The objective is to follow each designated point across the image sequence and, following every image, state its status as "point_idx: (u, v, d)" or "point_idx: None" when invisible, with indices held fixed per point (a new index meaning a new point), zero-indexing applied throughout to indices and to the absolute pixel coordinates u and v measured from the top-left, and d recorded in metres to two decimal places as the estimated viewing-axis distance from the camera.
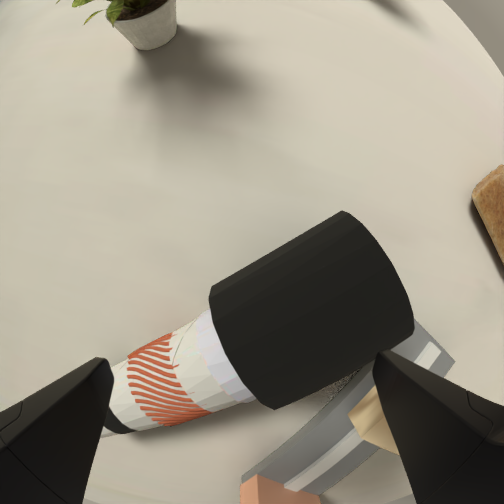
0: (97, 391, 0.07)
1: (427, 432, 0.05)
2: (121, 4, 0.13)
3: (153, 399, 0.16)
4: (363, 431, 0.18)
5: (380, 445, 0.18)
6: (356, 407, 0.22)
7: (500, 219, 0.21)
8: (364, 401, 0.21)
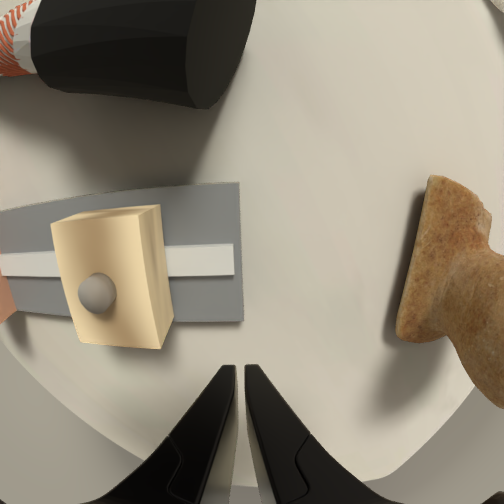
0: (236, 403, 0.07)
1: (259, 468, 0.05)
2: None
3: (5, 20, 0.07)
4: (60, 221, 0.13)
5: (60, 269, 0.14)
6: (94, 210, 0.16)
7: (442, 236, 0.18)
8: (104, 210, 0.16)
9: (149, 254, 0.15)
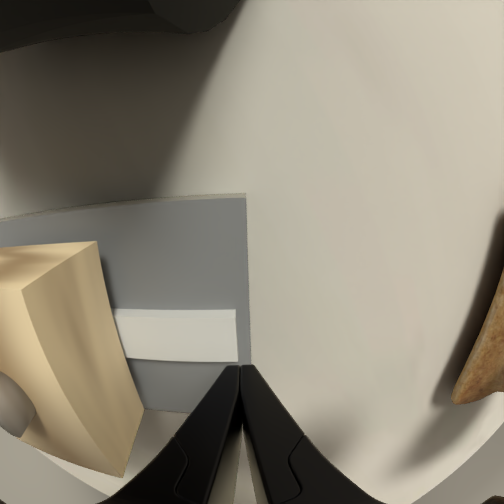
0: (240, 403, 0.07)
1: (253, 468, 0.05)
2: None
3: None
4: None
5: None
6: (6, 248, 0.08)
7: None
8: (15, 249, 0.08)
9: (70, 353, 0.06)
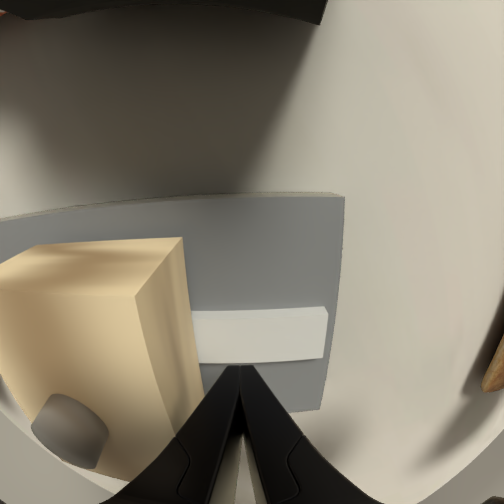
0: None
1: (252, 468, 0.05)
2: None
3: None
4: None
5: None
6: (52, 245, 0.08)
7: None
8: (68, 246, 0.08)
9: (170, 366, 0.06)
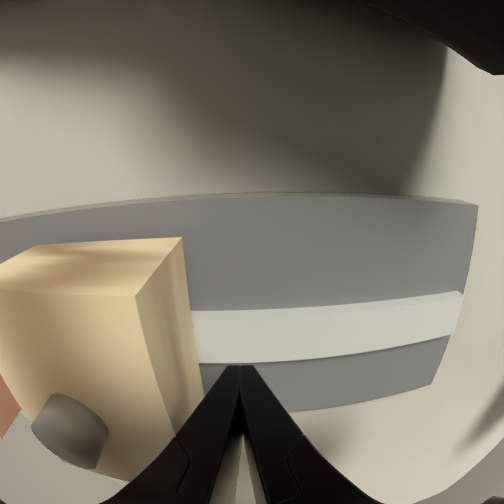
0: None
1: (252, 468, 0.05)
2: None
3: None
4: None
5: None
6: (52, 246, 0.08)
7: None
8: (68, 246, 0.08)
9: (170, 366, 0.06)
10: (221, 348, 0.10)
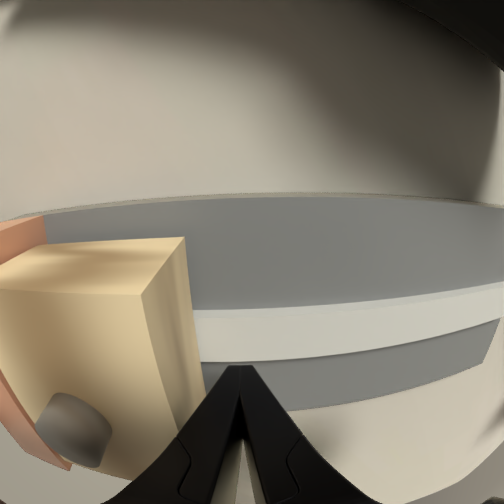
0: None
1: (252, 468, 0.05)
2: None
3: None
4: None
5: (2, 368, 0.05)
6: (54, 245, 0.08)
7: None
8: (71, 246, 0.08)
9: (173, 364, 0.06)
10: (352, 338, 0.10)
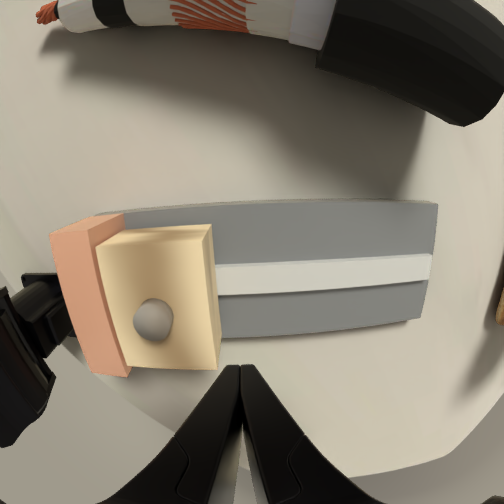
0: (240, 402, 0.07)
1: (253, 468, 0.05)
2: None
3: None
4: (106, 244, 0.14)
5: (107, 294, 0.14)
6: (137, 229, 0.17)
7: None
8: (149, 229, 0.17)
9: (208, 278, 0.15)
10: (303, 281, 0.19)
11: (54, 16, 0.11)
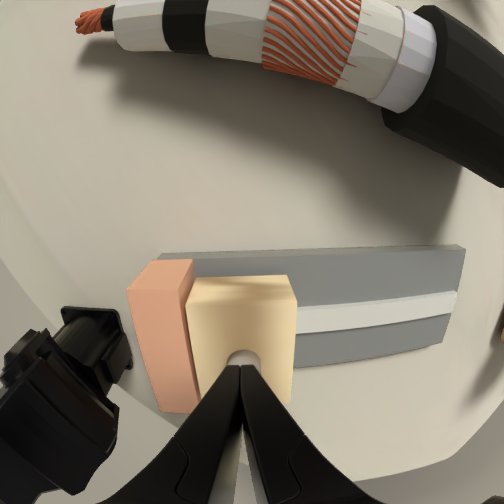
0: (240, 402, 0.07)
1: (253, 468, 0.05)
2: None
3: None
4: (195, 301, 0.15)
5: (194, 347, 0.15)
6: (212, 278, 0.18)
7: None
8: (227, 279, 0.18)
9: None
10: (357, 320, 0.20)
11: (100, 27, 0.12)
